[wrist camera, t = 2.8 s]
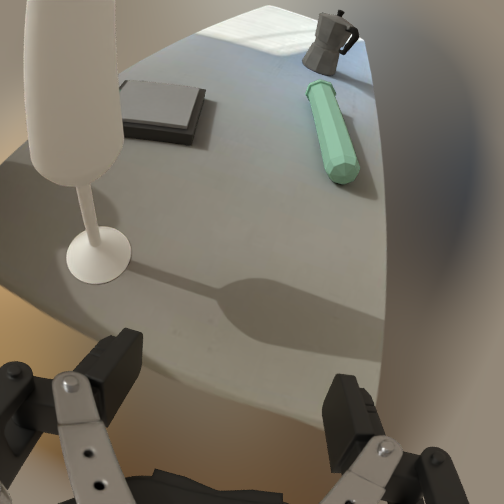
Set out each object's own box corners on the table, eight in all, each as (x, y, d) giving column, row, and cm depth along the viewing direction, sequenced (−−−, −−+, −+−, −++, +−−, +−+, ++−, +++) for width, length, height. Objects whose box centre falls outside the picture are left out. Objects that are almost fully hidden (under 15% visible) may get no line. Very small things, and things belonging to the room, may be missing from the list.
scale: (92, 134, 38) (91, 119, 36) (124, 89, 46) (124, 77, 44) (191, 145, 40) (193, 131, 39) (204, 98, 49) (206, 86, 47)
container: (367, 158, 38) (335, 78, 52) (323, 160, 39) (304, 79, 53) (363, 191, 43) (335, 104, 57) (322, 192, 44) (306, 105, 58)
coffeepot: (291, 55, 73) (311, -2, 59) (318, 59, 77) (340, 7, 63) (322, 81, 66) (349, 17, 52) (350, 86, 70) (378, 27, 56)
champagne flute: (108, 296, 26) (67, -5, 7) (53, 265, 26) (-13, 5, 7) (143, 241, 30) (159, -24, 11) (90, 217, 30) (74, -24, 11)
